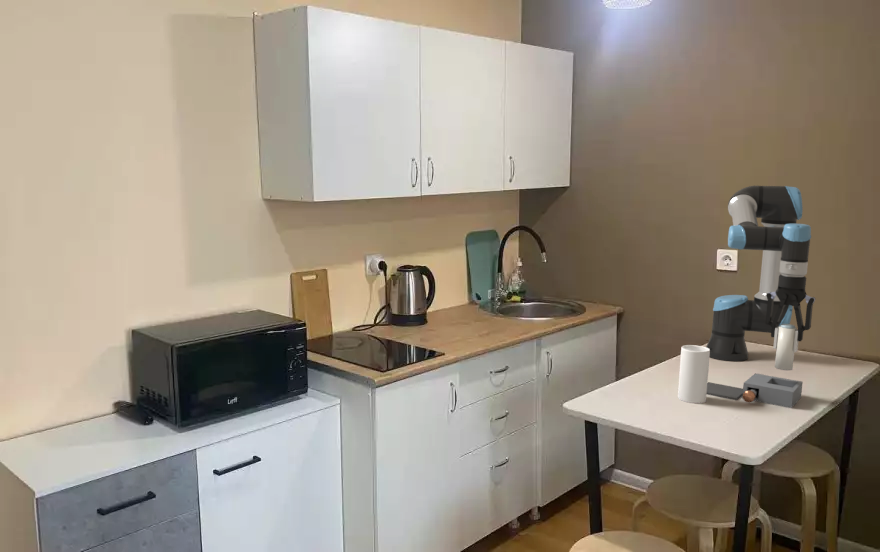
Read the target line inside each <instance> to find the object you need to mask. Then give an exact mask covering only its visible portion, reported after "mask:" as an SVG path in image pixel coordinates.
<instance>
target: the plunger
mask: <svg viewBox="0 0 880 552" xmlns="http://www.w3.org/2000/svg"><path fill="white" fill-rule="evenodd" d="M758 393H759V389H757V388H752V389H751V390H747V391H745V392H744V393H743V395H742V396H741V397H743V399H742V400H743V401H744V402H746V403H752V402H755V401H754V400H755V398H756V395H757V394H758Z"/></svg>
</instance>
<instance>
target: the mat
mask: <svg viewBox="0 0 880 552" xmlns="http://www.w3.org/2000/svg"><path fill="white" fill-rule="evenodd" d="M706 395H708V396H714V397H718V398H724V399H727V400H732V401H733V400H734V401H737V400H738V399H740V398H741V397H742V396H743V388H742V387H736V386H731V385H726V384H721V383H715V382H708V381H707V394H706Z"/></svg>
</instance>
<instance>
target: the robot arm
mask: <svg viewBox="0 0 880 552" xmlns="http://www.w3.org/2000/svg"><path fill="white" fill-rule="evenodd" d="M802 197H803V196H802V193H801V190H800V189H799V188H798V187H796V186H788V185H749V186H746V187H743V188H741V189H739V190H737V191H736V192H735V193H734V194H733V195H732V196H731V197H730V198H729V200H728V202H727V211H728V214H729V216H730V217H731V218H732V220H731V221H732V225H730V226H729V229H728V235H727V246H728V248H729V249H735V250H740V251H741V250H746V251H747V250H750V251H753V250H754V251H762V258H761V268H760V278H759V279H760V280H759V290H758V292H756V294H754V297H753V299H749V298H748V295H745V294H729V295H728V294H727V295H721V296H718V297H716V298H715V299H714V301H713V303H714V304H713V308H712V311H713V313H712V326H711V333H710V337H709V339H708V342H707V344H706V346H705V347H706V348H709V349H710V356H709V358H712V359H715V360H721V361H729V362H730V361H731V362H742V361H746V360H748V357H749V351H748V346H747V343H746V340H745V334H746V333H745V332H754V333H755V332H758V333H767V334H770V336H771V338H773V346H772V349H775V350H776V349H777V338H778V328H779V326H780V325H781V324H791V321H792V317H793V316H792V315H793V309H794V314H795V319H796V321H795V322H796V325H797V330H796V331H795V338H794V348H793V352H794V353H796V352H798V351H799V342H802V341H803V338H804V332H805V331H809V330H810V329H811V327H812V316H813V308H814V307H813V306H814V303H815V301H816V297H814V296H813V297H812V296H811V295H808V294H807V292H806V286H807V277H806V275H807V273H808V266H809V265H808V264H809V255H810V254H809V253H810V244H811V239H812V233H811V232H812V227H811V225H809V224H805V223H797V221H799V220H801V219H802V218H803V198H802ZM758 218H759V219H760V223H761V225H763V226H761V225H760V226H759V224H758ZM804 300H805V303H806V308H805V309H806V311H805V319H804V320H805V321H803V315H802V310H801V309H802V308H801V303H802V301H804ZM804 322H805V323H804Z"/></svg>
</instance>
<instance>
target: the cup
mask: <svg viewBox="0 0 880 552" xmlns="http://www.w3.org/2000/svg"><path fill="white" fill-rule="evenodd" d="M709 356H710V349H709V348H706V346H702V345H695V344H686V345H682V346H681V350H680V359H679V360H680V361H679V372H678V373H679V374H678V389H677V391H678V392H677V399H679V401H682V402H685V403H689V404H703V403H706V402H707V395H708V394H707V383H708V381H709V379H708V378H709V367H710V357H709Z"/></svg>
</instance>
